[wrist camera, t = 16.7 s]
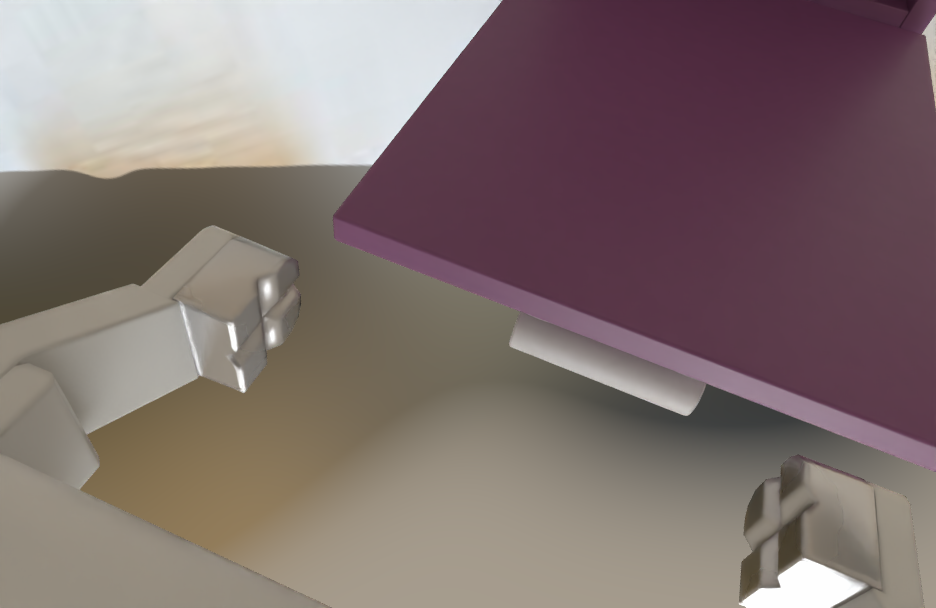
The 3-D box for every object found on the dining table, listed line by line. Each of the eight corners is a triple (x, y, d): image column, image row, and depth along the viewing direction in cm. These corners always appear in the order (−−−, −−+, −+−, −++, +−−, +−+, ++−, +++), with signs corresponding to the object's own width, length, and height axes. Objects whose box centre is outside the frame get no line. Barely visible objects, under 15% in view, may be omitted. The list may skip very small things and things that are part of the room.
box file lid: (331, 214, 14) (339, 336, 17) (987, 465, 12) (843, 543, 16) (559, -74, 24) (535, 39, 28) (926, 34, 23) (849, 141, 26)
